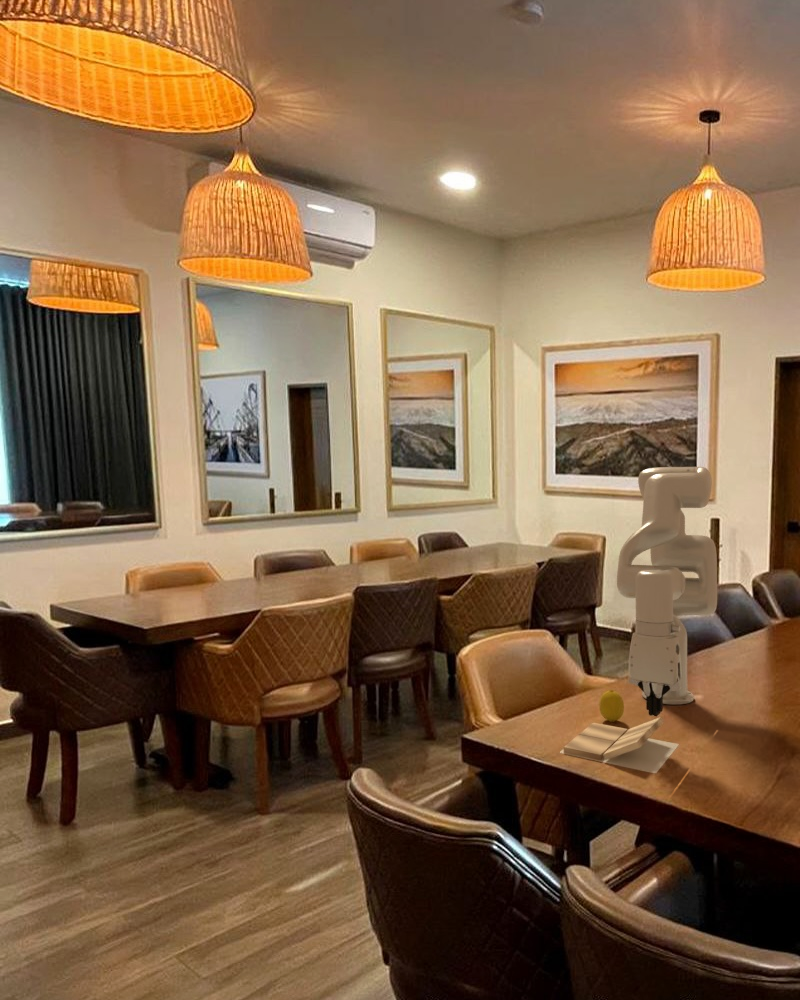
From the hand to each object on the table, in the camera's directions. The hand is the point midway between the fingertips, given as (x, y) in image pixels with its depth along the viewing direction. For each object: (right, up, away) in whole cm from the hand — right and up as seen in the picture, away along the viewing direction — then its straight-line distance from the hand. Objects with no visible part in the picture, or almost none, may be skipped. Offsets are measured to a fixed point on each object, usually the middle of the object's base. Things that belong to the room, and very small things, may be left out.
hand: (654, 714), depth 156 cm
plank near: (-7, -5, -5) cm, 10 cm away
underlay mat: (-7, -8, 0) cm, 11 cm away
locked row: (-11, -7, +3) cm, 14 cm away
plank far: (-2, -5, +2) cm, 6 cm away
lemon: (-4, -7, +17) cm, 19 cm away
